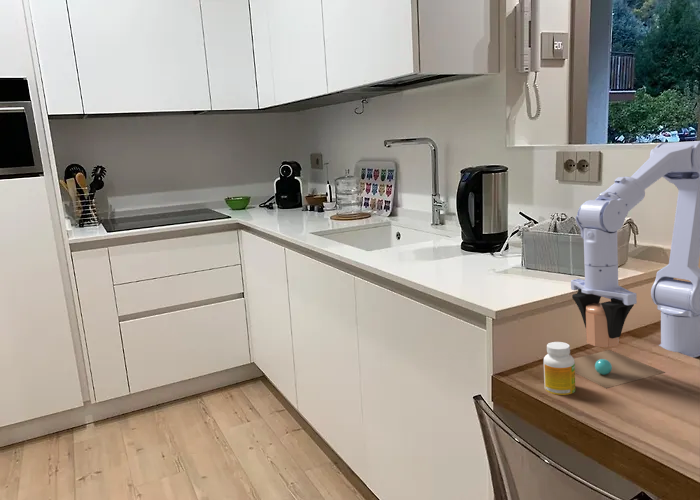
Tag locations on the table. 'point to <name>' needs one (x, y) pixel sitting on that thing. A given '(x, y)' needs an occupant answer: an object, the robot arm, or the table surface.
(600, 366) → the teal ball
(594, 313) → the faceted octagonal canister
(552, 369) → the supplement bottle
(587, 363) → the walnut board
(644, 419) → the table surface
